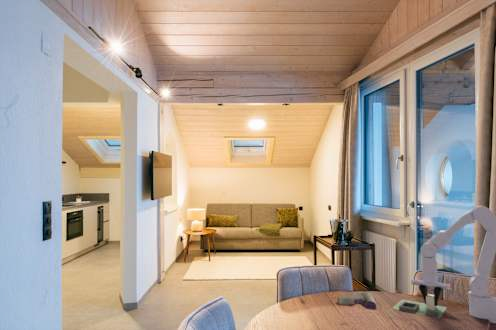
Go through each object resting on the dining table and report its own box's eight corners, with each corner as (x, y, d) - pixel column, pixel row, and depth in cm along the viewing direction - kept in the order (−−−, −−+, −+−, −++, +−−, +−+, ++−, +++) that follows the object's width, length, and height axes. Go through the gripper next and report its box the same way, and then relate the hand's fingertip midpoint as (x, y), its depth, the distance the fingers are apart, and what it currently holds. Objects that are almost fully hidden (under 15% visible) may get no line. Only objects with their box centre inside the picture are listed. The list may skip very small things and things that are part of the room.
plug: (436, 307, 145) (435, 294, 145) (434, 310, 141) (433, 297, 142) (428, 305, 147) (428, 293, 147) (426, 308, 143) (425, 295, 144)
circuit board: (447, 309, 145) (446, 305, 145) (440, 320, 132) (439, 315, 133) (402, 301, 156) (401, 297, 156) (391, 310, 144) (391, 306, 144)
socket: (419, 308, 144) (419, 304, 144) (415, 312, 138) (414, 309, 138) (404, 305, 148) (403, 301, 148) (399, 309, 142) (399, 306, 142)
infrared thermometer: (337, 303, 157) (371, 302, 156) (341, 312, 145) (378, 311, 144) (336, 293, 158) (370, 292, 156) (340, 301, 146) (377, 300, 144)
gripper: (409, 270, 147) (410, 303, 146) (447, 275, 138) (449, 310, 137) (413, 268, 152) (414, 299, 151) (450, 272, 143) (452, 306, 142)
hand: (431, 304), depth 144 cm, fingers closed on plug, 3 cm apart
